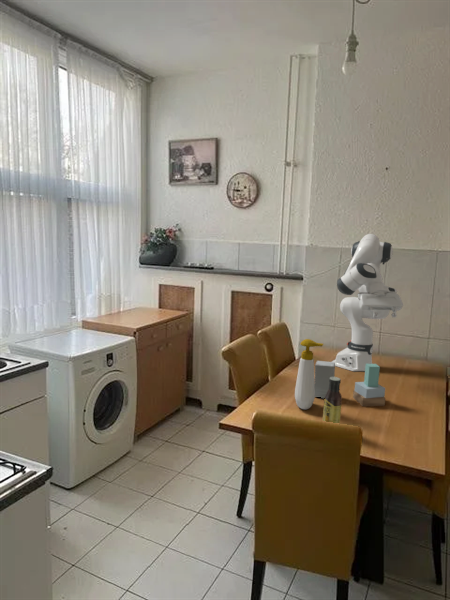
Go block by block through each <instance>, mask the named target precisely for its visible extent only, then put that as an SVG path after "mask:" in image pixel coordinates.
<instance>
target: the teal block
mask: <svg viewBox="0 0 450 600" xmlns="http://www.w3.org/2000/svg"><path fill="white" fill-rule="evenodd" d="M380 369H381V367H380V366H379V365H378V364H377V363H372V364H366V366H365V371H364V380H363V382H364V384H365V385H366V386H367V387H378V384H379V381H380V380H379V378H380Z"/></svg>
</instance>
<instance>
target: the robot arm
mask: <svg viewBox="0 0 450 600" xmlns="http://www.w3.org/2000/svg"><path fill="white" fill-rule="evenodd" d="M393 253H394V249H393V246H392V243H390V242H387V241H384V242H383V241H381V240H380V238H379V237H378V236H377V235H376V234H374V233H367V234H365V235H364V236H363V237H362V238H361V240H358V241H355V242H354V243H353V244H352V246H351V249H350V254H351V257H352V258H351V260H350V262H349V263H348V266H347V268H346V269H345V272H344V273H343V275H342V276H341V277H339V278H337V281H336V287H337V289H338V291H339V292H340V293H341V294H342V295H345V297H344V298H342V300H341V301H340V304H339V310H340V313H341V314H342V315H343V316H344V317H345V318H346V319H347V320H348V322H349V324H350V328H351V339H350V340H349V341H348V342H346V345H347V347H345V348H344V349H341V350H340V351H338V352H337V354H336V356H335V359H333V360H332V361H331V362H335V367H336V368H337V367H338V368H341V369H344V370H348V371H351V372H365V366H366V364H373V358H372V354H373V351H374V350H373V349H374V344H373V338H374V337H373V336H374V335H373V334H374V329H373V328H372V327H371V326H370V325H368V324H367V323H366V322H364V321H363V319H371V320H383V319H386V318H388V316H389V314H390V312H391V317H392V318H397V311H401V310H402V308H403V307H404V303H403V300H402V298H401V295H399V293H398V290H397V288H396V287H395V288H394V287H391V286H388V285H386V284H385V282H384V281H383V276H382V274H381V264H382V265H383V266H384V265H385V264H386V263H387V262H389V261H390V260H391V258H392V257H393ZM357 290H358V292H359V293H357V296H352V295H353V294H354V293H355V292H356V291H357ZM346 296H348V297H346Z"/></svg>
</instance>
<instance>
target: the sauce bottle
mask: <svg viewBox="0 0 450 600" xmlns="http://www.w3.org/2000/svg"><path fill="white" fill-rule="evenodd" d="M329 382H330V383H329V389H328V391H327V394H326V396H325V399H324V398H323V400H324V401H323V411H322V412H323V413H322V421H326V422H333V423H340V422H341V415H342V413H341V412H342V394H341V392H340V386H341V382H342V380H341V378H340V377H337V376H334V377H330V378H329Z"/></svg>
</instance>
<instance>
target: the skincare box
mask: <svg viewBox="0 0 450 600" xmlns="http://www.w3.org/2000/svg"><path fill="white" fill-rule="evenodd" d="M335 370H336V366H335V362H332V361H324V360H316V362H315V363H314V379H315V397H321V398H320V399H324V398H325V396H326V394H327V391H328V389H329V383H330V382H329V378H330V377H336V376H335Z"/></svg>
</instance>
